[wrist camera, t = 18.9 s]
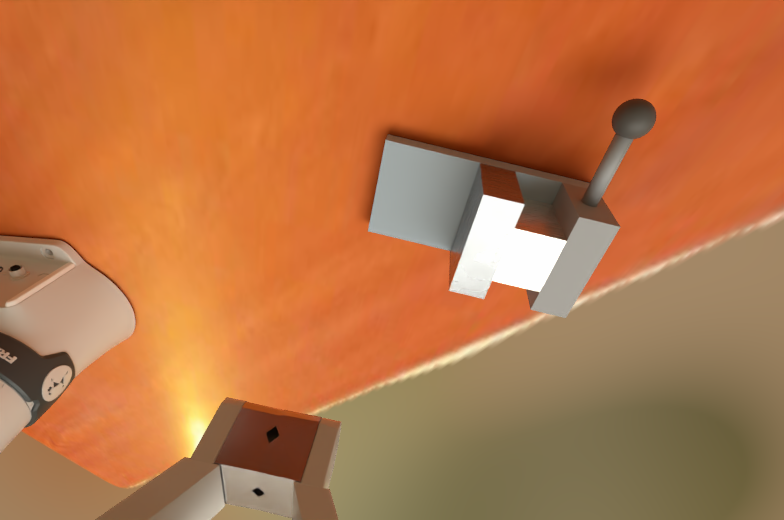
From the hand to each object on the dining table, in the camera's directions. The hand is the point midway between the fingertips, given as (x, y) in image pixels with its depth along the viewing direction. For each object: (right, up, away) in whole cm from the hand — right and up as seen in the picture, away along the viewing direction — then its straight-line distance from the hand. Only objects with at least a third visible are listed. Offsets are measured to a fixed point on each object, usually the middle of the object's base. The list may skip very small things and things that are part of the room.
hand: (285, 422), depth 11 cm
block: (+14, +7, +26) cm, 31 cm away
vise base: (+11, +12, +25) cm, 30 cm away
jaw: (+11, +8, +26) cm, 29 cm away
